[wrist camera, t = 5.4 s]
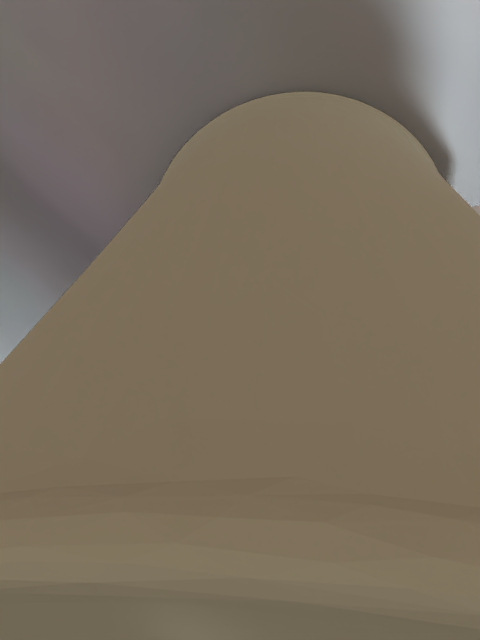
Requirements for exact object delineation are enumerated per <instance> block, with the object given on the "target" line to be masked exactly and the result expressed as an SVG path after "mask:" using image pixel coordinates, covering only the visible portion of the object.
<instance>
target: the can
mask: <svg viewBox="0 0 480 640" xmlns="http://www.w3.org/2000/svg"><path fill="white" fill-rule="evenodd" d="M0 640H480V215H479V214H478V213H477V212H476V211H475V210H474V209H473V208H472V207H471V206H470V205H469V204H468V203H467V202H466V201H465V200H464V199H463V198H462V197H461V196H460V195H459V194H458V193H457V192H456V191H455V190H454V189H453V188H452V187H451V186H450V185H449V184H448V183H447V182H446V181H445V180H444V179H443V177H442V176H441V175H440V174H439V172H438V170H437V168H436V166H435V164H434V162H433V161H432V159H431V158H430V156H429V154H428V153H427V151H426V150H425V149H424V147H423V146H422V145H421V144H420V143H419V141H418V140H417V139H416V138H415V137H414V136H413V135H412V134H411V133H410V132H409V131H408V130H407V129H406V128H404V127H403V126H402V125H401V124H400V123H398V122H397V121H396V120H394V119H393V118H391V117H390V116H388V115H387V114H385V113H383V112H382V111H380V110H378V109H376V108H373V107H371V106H369V105H367V104H365V103H363V102H360V101H357V100H354V99H351V98H348V97H344V96H340V95H335V94H329V93H322V92H289V93H279V94H274V95H269V96H264V97H261V98H258V99H255V100H251V101H248V102H246V103H243V104H241V105H238V106H236V107H234V108H232V109H230V110H228V111H226V112H224V113H223V114H221V115H220V116H218V117H217V118H215V119H213V120H212V121H211V122H209V123H208V124H207V125H205V126H204V127H203V128H202V129H200V130H199V131H198V132H197V133H196V134H195V135H194V136H193V137H192V138H191V139H190V140H189V141H188V142H187V143H186V144H185V145H184V146H183V147H182V148H181V150H180V151H179V152H178V153H177V155H176V156H175V158H174V159H173V161H172V162H171V164H170V165H169V167H168V169H167V171H166V172H165V174H164V176H163V178H162V180H161V182H160V184H159V185H158V187H157V188H156V189H155V190H154V192H153V193H152V194H151V195H150V196H149V198H148V199H147V200H146V201H145V202H144V203H143V205H142V206H141V207H140V208H139V209H138V210H137V211H136V213H135V214H134V215H133V216H132V217H131V218H130V219H129V221H128V222H127V223H126V224H125V225H124V226H123V227H122V229H121V230H120V231H119V232H118V233H117V234H116V236H115V237H114V238H113V239H112V240H111V241H110V242H109V244H108V245H107V246H106V247H105V248H104V249H103V250H102V252H101V253H100V254H99V255H98V256H97V257H96V259H95V260H94V261H93V262H92V263H91V264H90V265H89V267H88V268H87V269H86V270H85V271H84V272H83V273H82V274H81V276H80V277H79V278H78V279H77V280H76V281H75V282H74V283H73V284H72V286H71V287H70V288H69V289H68V290H67V291H66V292H65V293H64V294H63V295H62V297H61V298H60V299H59V300H58V301H57V302H56V303H55V304H54V305H53V306H52V308H51V309H50V310H49V311H48V312H47V313H46V314H45V315H44V316H43V318H42V319H41V320H40V321H39V322H38V323H37V324H36V325H35V326H34V327H33V329H32V330H31V331H30V332H29V333H28V334H27V335H26V336H25V337H24V339H23V340H22V341H21V342H20V343H19V344H18V345H17V346H16V347H15V348H14V350H13V351H12V352H11V353H10V354H9V355H8V356H7V357H6V358H5V359H4V361H3V362H2V363H1V364H0Z"/></svg>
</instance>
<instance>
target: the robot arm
mask: <svg viewBox="0 0 480 640" xmlns="http://www.w3.org/2000/svg"><path fill="white" fill-rule="evenodd" d="M472 208H473V209H474V210H475V211H476V212H477V213H478V214H479V215H480V206H474V207H472Z"/></svg>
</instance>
